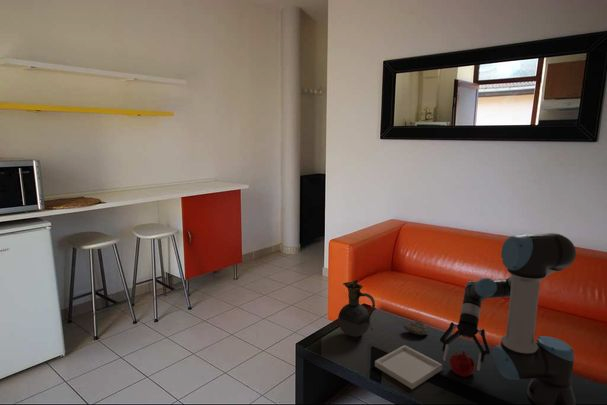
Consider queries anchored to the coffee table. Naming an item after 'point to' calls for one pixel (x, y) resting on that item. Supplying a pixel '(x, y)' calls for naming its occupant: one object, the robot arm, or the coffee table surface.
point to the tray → (408, 366)
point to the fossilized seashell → (416, 328)
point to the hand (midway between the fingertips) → (460, 365)
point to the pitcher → (355, 313)
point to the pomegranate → (462, 364)
